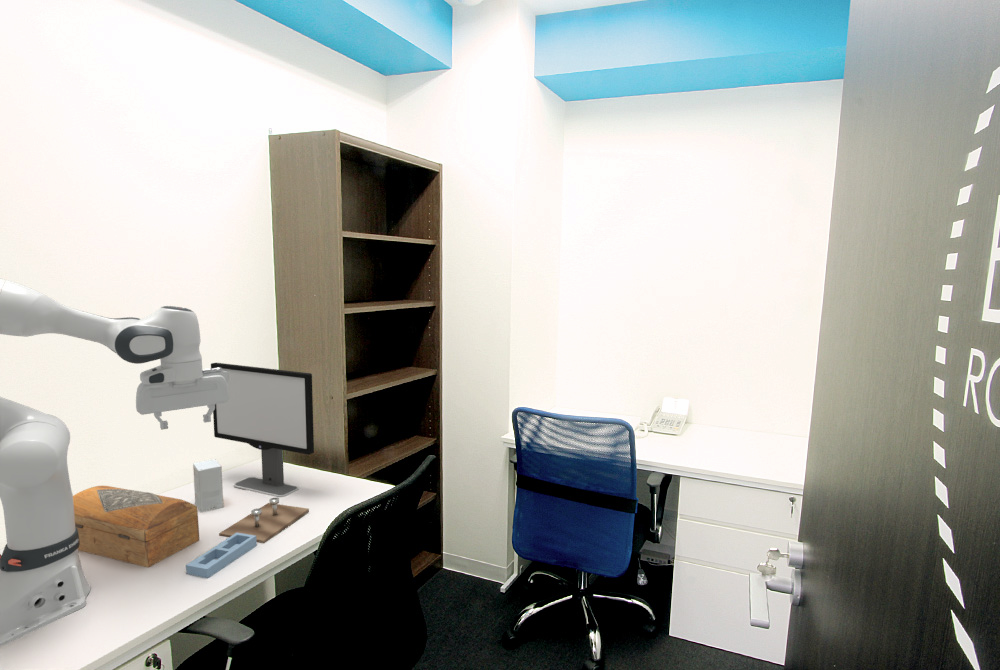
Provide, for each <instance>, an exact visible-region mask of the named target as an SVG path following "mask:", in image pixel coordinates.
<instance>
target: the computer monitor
mask: <svg viewBox="0 0 1000 670" xmlns="http://www.w3.org/2000/svg"><path fill="white" fill-rule="evenodd" d="M218 367H221V368H222V369H225V370H227V372H228V376H229V380H228V382H227V386H228V390H229V400H228V401H227V402H226V403H220V404H215V409H214V411H213V413H212V415H213V417H212V418H213V437H214V438H218V439H222V440H227V441H232V442H239V443H244V444H247V445H250V447H252V448H254V449H257V450H261V451H260V452H261V473H262V478H261V477H256V476H250V477H249V476H248V477H245V478H243V479H240V480H238V481H236V482H235V483H233V487H234V488H238V489H241V490H246V491H250V492H255V493H259V494H263V495H267V496H272V497H275V498H283V497H286V496H289V495H291V494H293V493H295V492H296V491H299V486H297V485H294V484H289V483H285V481H284V480H285V477H284V476H285V475H284V451H288V452H294V453H298V454H303V455H309V456H310V455H312V454H314V453H315V446H314V445H315V442H314V441H315V440H314V437H315V436H314V403H313V402H314V400H313V399H314V398H313V374H312V373H309V372H301V371H295V370H287V369H286V370H284V369H276V368H269V367H268V368H267V367H266V368H265V367H258V366H249V365H239V364H231V363H223V362H212V363H210V368H218ZM222 371H224V370H222Z"/></svg>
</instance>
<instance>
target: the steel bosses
mask: <svg viewBox="0 0 1000 670" xmlns="http://www.w3.org/2000/svg"><path fill="white" fill-rule="evenodd" d="M268 501H269V502H268V503H270V504H271V505H272V512H273V516H275V515H277V504H279V503H280V497H272V498H270V499H269V500H268ZM259 508H260V507H259ZM259 508H254V509H252V510H251V513H250V514H251V515H252V516H254V519H255V527H259V526H260V525H259V515H261V514H262V509H259Z"/></svg>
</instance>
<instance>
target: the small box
mask: <svg viewBox="0 0 1000 670" xmlns="http://www.w3.org/2000/svg"><path fill="white" fill-rule="evenodd" d="M192 467H193V469H192V470H193V486H194V487H193V489H194V503H195V504H194V505H195V506H197V510H198V511H199V512H200V513H204V512H209V511H214V510H217V509H218V510H219V509H222V508H224V491H223V489H224V487H223V471H222V470H223V469H222V465H221V464H220V463H219V462H218V461H217V459H215V458H213V459H208V460H204V461H199V462H194V463H192Z"/></svg>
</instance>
